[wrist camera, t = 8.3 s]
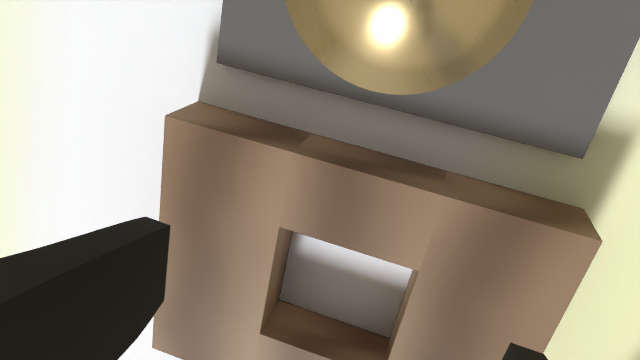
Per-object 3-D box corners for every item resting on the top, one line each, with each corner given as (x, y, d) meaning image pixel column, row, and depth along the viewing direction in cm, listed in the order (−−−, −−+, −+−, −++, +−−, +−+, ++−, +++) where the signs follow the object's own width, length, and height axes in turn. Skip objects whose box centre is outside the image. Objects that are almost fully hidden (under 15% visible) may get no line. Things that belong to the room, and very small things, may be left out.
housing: (583, 209, 18) (602, 241, 15) (477, 424, 23) (479, 472, 20) (197, 101, 20) (164, 115, 18) (179, 315, 25) (152, 347, 23)
